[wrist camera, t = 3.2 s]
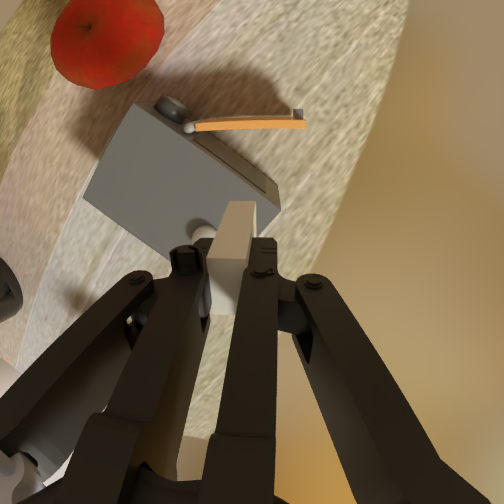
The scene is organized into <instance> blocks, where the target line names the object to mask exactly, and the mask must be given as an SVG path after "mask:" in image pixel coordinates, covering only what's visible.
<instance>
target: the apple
mask: <svg viewBox="0 0 504 504" xmlns="http://www.w3.org/2000/svg"><path fill="white" fill-rule="evenodd" d="M163 36H164V16H163V14H162V12H161V11H160V9H159V7H158V5H157V4H156V2H155V0H71V1H70V2H69V3H68V4H67V6H66V7H65V9H64V10H63V11H62V13H61V14H60V16H59V17H58V19H57V21H56V24H55V26H54V29H53V31H52V34H51V56H52V59H53V62H54V65H55V67H56V70H57V71H58V72H59V73H61V74H62V75H63V76H64V77H65V78H66V79H67V80H68V81H70V82H72V83H74V84H76V85H78V86H83V87H87V88H91V89H100V88H104V87H108V86H112V85H116V84H119V83H122V82H125V81H128V80H130V79H131V78H132V77H134V76H135V75H136V74H137V73H138V72H140V71H141V70H142V69H143V68H145V66H146V65H147V64H148V62H149V61H150V60H151V58H152V57H153V56H154V55H155V53H156V52H157V50H158V48H159V45H160V43H161V40H162V38H163Z"/></svg>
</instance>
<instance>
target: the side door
mask: <svg viewBox="0 0 504 504" xmlns="http://www.w3.org/2000/svg"><path fill="white" fill-rule="evenodd" d="M260 128H297V129H306V120H304V119H303V109H293V117H235V118H217V119H207V120H205V119H199V120H196V121H193V122H190V123H187V124H185V125H184V131H185V132H186V133H191V132H193V131H195V130H196V132H197V131H211V130H229V129H260Z"/></svg>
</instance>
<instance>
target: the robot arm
mask: <svg viewBox="0 0 504 504" xmlns="http://www.w3.org/2000/svg"><path fill="white" fill-rule="evenodd" d="M169 254H170V261H171V266H172V272H171V274H170V275H169V277H166V278H161V279H155V280H153V276H152V274H151V273H150V272H148V271H142V270H137V271H133V272H131V273H128V274H127V275H125V276H124V277H123V278H122V279H121V280H119V281H118V282H117V283H116V284H115V285H114V286H113V287H112V288H111V289H109V290H108V291H107V292H106V293H105V294H104V295H103V296H102V297H101V298H100V299H98V300H97V301H96V302H95V303H94V304H93V305H92V306H91V307H90V308H89V309H88V310H87V311H86V312H84V313H83V314H82V315H81V316H80V317H79V318H78V319H77V320H76V321H75V322H74V323H73V324H72V325H71V326H70V327H69V328H68V329H67V330H66V331H65V332H64V333H63V334H62V335H61V336H59V337H58V338H57V339H56V340H55V341H54V342H53V343H52V344H51V345H50V346H49V347H48V348H47V349H46V350H45V351H44V352H43V353H42V354H41V355H40V357H39V358H38V359H37V360H36V361H35V362H34V363H33V364H32V365H31V366H30V367H29V368H28V369H27V370H26V371H25V372H24V373H23V374H22V375H21V376H20V377H19V378H18V379H17V381H16V382H15V383H14V384H13V385H12V386H11V387H10V388H9V389H8V391H6V393H5V394H4V395H3V396H2V397H1V398H0V504H289V503H287V502H286V501H284V500H283V499H281V498H279V497H277V496H275V495H274V478H275V454H276V453H275V452H276V437H275V433H276V397H277V341H278V330H280V331H284V332H287V333H291V334H292V339H293V341H294V344H295V347H296V349H297V352H298V354H299V357H300V359H301V362H302V365H303V367H304V370H305V372H306V375H307V377H308V380H309V382H310V385H311V388H312V390H313V393H314V395H315V397H316V400H317V403H318V405H319V408H320V410H321V413H322V416H323V418H324V421H325V423H326V426H327V429H328V431H329V434H330V436H331V439H332V441H333V444H334V447H335V449H336V451H337V454H338V457H339V459H340V462H341V464H342V467H343V470H344V472H345V475H346V478H347V480H348V483H349V485H350V488H351V491H352V493H353V496H354V498H355V500H356V502H357V504H491V503H490V501H489V500H488V499H487V498H486V497H485V496H484V495H482V494H481V493H480V492H479V491H478V490H476V489H475V488H474V487H473V486H472V485H470V484H469V483H468V482H467V481H466V480H464V479H463V478H462V477H461V476H460V475H459V474H457V473H456V472H455V471H454V470H453V469H451V468H450V467H449V466H448V465H447V464H446V463H445V462H443V461H442V460H441V459H440V457H439V456H438V454H437V452H436V450H435V448H434V446H433V445H432V443H431V441H430V439H429V438H428V436H427V434H426V432H425V431H424V429H423V427H422V425H421V424H420V422H419V420H418V418H417V417H416V415H415V414H414V412H413V410H412V408H411V406H410V405H409V403H408V401H407V400H406V398H405V396H404V395H403V393H402V392H401V390H400V388H399V386H398V385H397V383H396V381H395V380H394V378H393V377H392V375H391V373H390V372H389V370H388V369H387V367H386V365H385V364H384V362H383V361H382V359H381V357H380V356H379V354H378V353H377V351H376V350H375V348H374V346H373V345H372V343H371V342H370V340H369V338H368V337H367V335H366V334H365V332H364V331H363V329H362V328H361V326H360V325H359V323H358V322H357V320H356V319H355V317H354V315H353V314H352V313H351V311H350V310H349V308H348V306H347V305H346V303H345V302H344V300H343V299H342V297H341V296H340V295H339V293H338V291H337V290H336V288H335V287H334V286H333V284H332V283H331V281H330V280H329V279H328V278H326V277H324V276H322V275H319V274H305V275H302V276H300V277H299V278H298V279H297V280H296V282H295V281H291V280H287V279H285V278H283V277H282V276H280V275H279V273H278V270H277V242H276V241H275V240H274V238H262V237H256V201H229V203H228V206H227V208H226V210H225V213H224V215H223V218H222V220H221V223H220V225H219V227H218V230H217V232H216V235H215V237H214V238H200V239H198V240H197V241H195V242H194V244H193V245H181V246H178V247H175V248H173V249H172V250H171V251H170V252H169ZM22 305H23V296H22V291H21V288H20V286H19V283H18V281H17V279H16V277H15V276H14V274H13V272H12V271H11V270H10V268H9V267H8V266H7V264H6V263H5V262H4V261H3V260H2V259H1V258H0V323H1V322H3V321H5V320H7V319H9V318H11V317H13V316H14V315H16V313H17V312H18V311H19V310H20V309H21V307H22ZM211 306H212V314H216V315H236V316H235V321H234V327H233V333H232V338H231V344H230V350H229V356H228V361H227V367H226V373H225V379H224V384H223V390H222V396H221V402H220V408H219V413H218V419H217V425H216V430H215V432H214V433H213V434H211V437H210V439H209V443H208V447H207V453H206V459H205V465H204V469H203V475H202V480H193V481H177V469H176V462H177V457H178V453H179V448H180V444H181V440H182V435H183V431H184V427H185V423H186V418H187V414H188V410H189V406H190V402H191V398H192V394H193V390H194V385H195V381H196V377H197V373H198V369H199V365H200V361H201V357H202V353H203V349H204V345H205V342H206V338H207V334H208V330H209V326H210V308H211ZM130 316H131V318H132V322H131V323H130V324H127V321H126V320H127V319H128V318H129V317H130ZM107 404H108V405H107ZM106 406H107V407H106ZM105 407H106V409H105V410H104V408H105ZM103 410H104V412H102V411H103ZM101 412H102V413H101ZM73 450H74V452H73ZM72 452H73V454H72V457H71V459H70V461H69V464H68V466H67V469H66V471H65V474H64V477H62V478H60V479H59V480H57V481H55V482H54V483H52V484H50V485H49V486H47V487H46V486H45V485H44V484H43V482H44V481H46V480H47V479H48V478H50V477H51V476H52V475H53V474H54V473H55V472H56V471H57V470H58V469H59V468H60V467H61V466H62V465H63V463H64V462H65V461H66V460H67V459H68V457H69V456H70V454H71V453H72Z"/></svg>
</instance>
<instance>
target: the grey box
mask: <svg viewBox="0 0 504 504" xmlns="http://www.w3.org/2000/svg"><path fill="white" fill-rule="evenodd" d="M190 112H191V110H190V109H189V108H188V107H187V106H186V105H184V104H183V103H182V102H180V101H178V100H177V99H175V98H173V97H171V96H169V95H167V94H162V95H161V96H160V98H159V99H158V101H154V102H140V103H133V104H132V106H131V107H130V109H129V111H128V112H127V114H126V116H125V117H124V119H123V121H122V122H121V124H120V126H119V127H118V129H117V131H116V133H115V134H114V136H113V138H112V140H111V142H110V143H109V145H108V147H107V149H106V151H105V153H104V155H103V156H102V158H101V160H100V162H99V164H98V166H97V168H96V170H95V172H94V174H93V176H92V178H91V180H90V183H89V185H88V187H87V189H86V191H85V193H84V196H83V199H85V200H86V201H87V202H89V203H90V204H91V205H93V206H94V207H95V208H97V209H98V210H99V211H101V212H102V213H103V214H105V215H106V216H108V217H109V218H110V219H112V220H113V221H114V222H116V223H117V224H118V225H120V226H121V227H123V228H124V229H125V230H127V231H128V232H130V233H131V234H132V235H134V236H135V237H137V238H138V239H139V240H141V241H142V242H144V243H145V244H146V245H148V246H149V247H151V248H152V249H154V250H155V251H156V252H158V253H159V254H161V255H162V256H164V257H165V258H167V259H168V260H169V261H170V254H169V252H170V251H171V250H172V249H173V248H175V247H178V246H181V245H193V244H194V242H195V241H197V240H198V239H200V238H214V237H215V235H216V232H217V230H218V227H219V225H220V223H221V220H222V218H223V215H224V213H225V210H226V208H227V206H228V203H229V201H256V237H258V236H259V235H260V234H261V232H262V231H263V230H264V229H265V228H266V227H267V226H268V225H269V223H270V222H271V221H272V220H273V219H274V218H275V217H276V216H277V215H278V213H279V212H280V211H281V205H280V198H279V191H278V185H277V184H275V183H274V182H273V181H272V180H270V179H269V178H268V177H266V176H265V175H264V174H263V173H261V172H260V171H259V170H257V169H256V168H255V167H254V166H252V165H251V164H250V163H248V162H247V161H246V160H244V159H243V158H242V157H240V156H239V155H238V154H236V153H235V152H234V151H232V150H231V149H230V148H228V147H227V146H226V145H224V144H223V143H222V142H220V141H219V140H217V139H216V138H215V137H213V136H212V135H211V134H209V133H208V132H206V131H197V132H196V130H195V131H193V132H191V133H186V132H185V131H184V125H185V124H187V123H190V122H192V121H191V120H189V119H188V118H187V116H188V115H189V114H190Z"/></svg>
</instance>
